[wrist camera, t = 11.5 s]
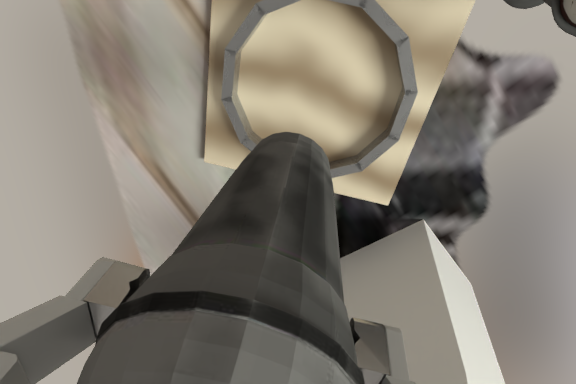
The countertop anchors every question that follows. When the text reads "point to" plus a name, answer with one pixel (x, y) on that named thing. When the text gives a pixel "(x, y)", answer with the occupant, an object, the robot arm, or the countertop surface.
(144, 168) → the countertop surface
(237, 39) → the ring seat
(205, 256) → the beverage cup
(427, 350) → the milk
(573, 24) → the sundae
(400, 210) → the countertop surface
